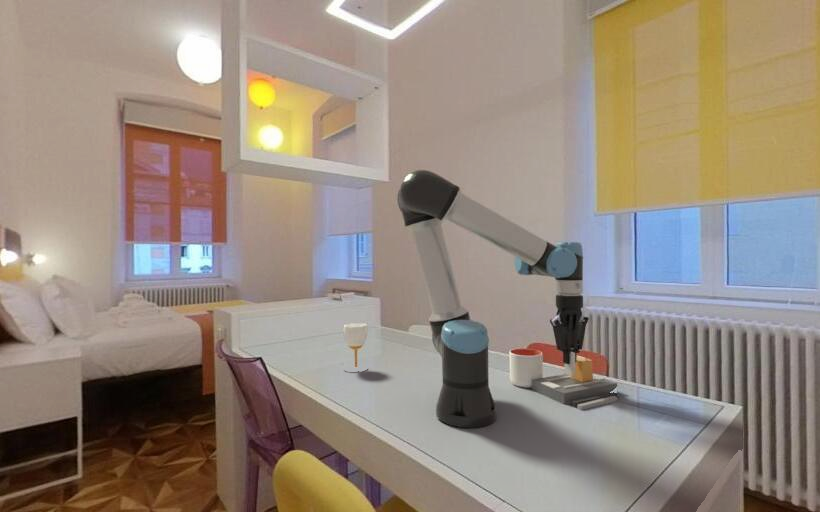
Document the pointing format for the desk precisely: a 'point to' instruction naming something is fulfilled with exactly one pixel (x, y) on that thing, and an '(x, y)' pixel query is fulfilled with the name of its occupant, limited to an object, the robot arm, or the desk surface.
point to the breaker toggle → (583, 369)
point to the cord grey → (596, 402)
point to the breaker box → (571, 387)
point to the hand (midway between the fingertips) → (569, 374)
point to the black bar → (592, 399)
